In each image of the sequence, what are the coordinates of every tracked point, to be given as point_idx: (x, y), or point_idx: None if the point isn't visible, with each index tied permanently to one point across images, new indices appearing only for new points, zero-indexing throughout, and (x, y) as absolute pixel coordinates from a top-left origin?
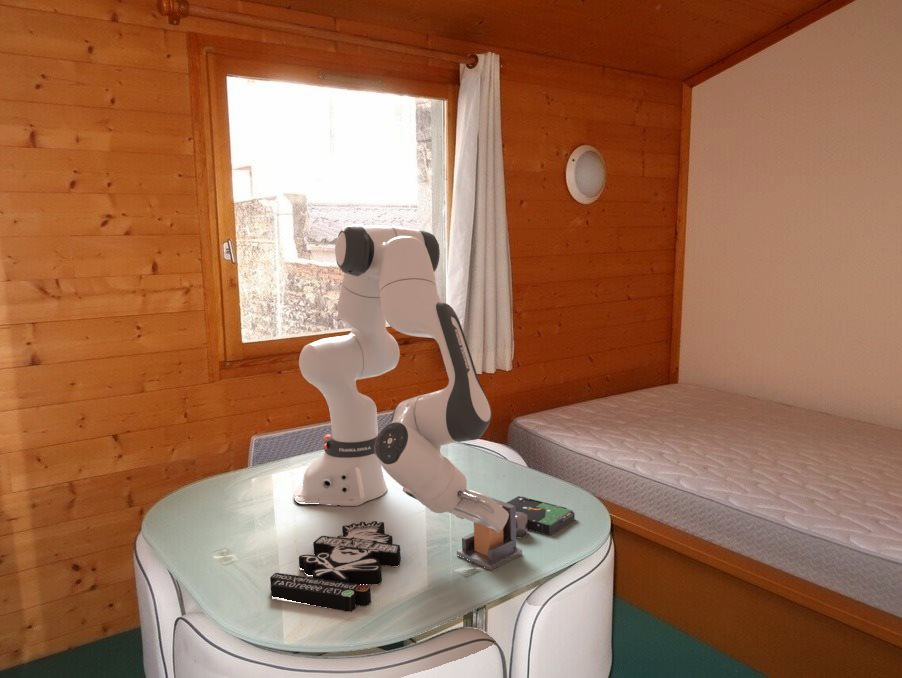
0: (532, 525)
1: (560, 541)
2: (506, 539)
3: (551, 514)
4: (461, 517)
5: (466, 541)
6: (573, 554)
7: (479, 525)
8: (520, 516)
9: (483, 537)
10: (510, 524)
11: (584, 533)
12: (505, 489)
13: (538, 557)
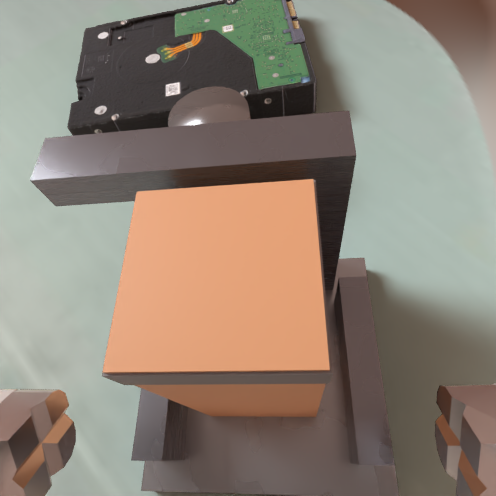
0: None
1: (373, 117)
2: None
3: (255, 37)
4: (57, 464)
5: (167, 451)
6: (485, 147)
7: (222, 397)
8: (223, 112)
9: (268, 407)
10: (340, 227)
11: (380, 46)
12: (15, 28)
13: (424, 242)
